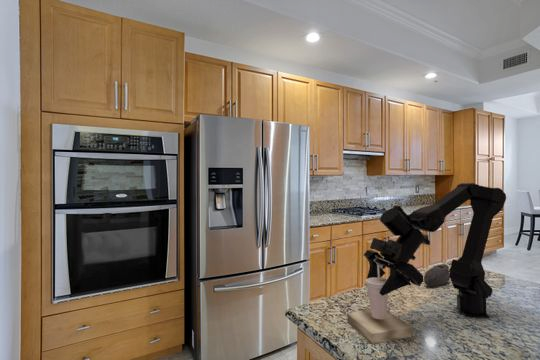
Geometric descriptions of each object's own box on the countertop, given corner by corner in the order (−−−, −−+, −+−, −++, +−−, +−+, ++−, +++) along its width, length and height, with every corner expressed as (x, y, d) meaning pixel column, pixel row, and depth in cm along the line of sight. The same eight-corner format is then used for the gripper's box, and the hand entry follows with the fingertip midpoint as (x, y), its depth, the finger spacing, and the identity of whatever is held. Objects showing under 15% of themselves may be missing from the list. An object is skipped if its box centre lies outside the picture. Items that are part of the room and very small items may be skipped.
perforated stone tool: (431, 290, 105) (431, 271, 105) (418, 286, 110) (417, 268, 110) (454, 283, 112) (453, 265, 112) (440, 279, 117) (440, 262, 117)
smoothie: (396, 319, 76) (393, 266, 76) (375, 323, 74) (372, 268, 75) (382, 310, 82) (379, 261, 82) (362, 313, 80) (359, 263, 81)
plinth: (383, 316, 86) (382, 307, 86) (412, 336, 74) (412, 326, 74) (347, 321, 82) (347, 313, 83) (372, 344, 71) (372, 333, 71)
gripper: (367, 223, 89) (337, 262, 86) (412, 233, 71) (375, 282, 68) (390, 246, 91) (361, 285, 88) (439, 261, 73) (404, 311, 70)
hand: (373, 290), depth 78 cm, fingers closed on smoothie, 6 cm apart
